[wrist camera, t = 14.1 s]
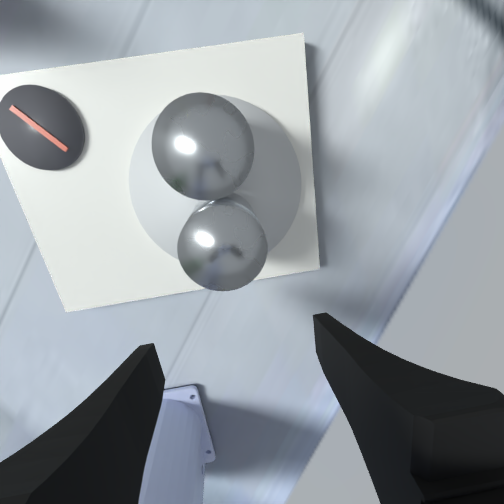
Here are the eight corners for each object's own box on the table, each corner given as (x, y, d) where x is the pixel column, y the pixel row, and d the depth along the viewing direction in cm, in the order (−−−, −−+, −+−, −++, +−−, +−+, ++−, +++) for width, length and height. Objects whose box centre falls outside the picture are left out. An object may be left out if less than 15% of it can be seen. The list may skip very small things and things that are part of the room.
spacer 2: (264, 243, 20) (278, 275, 15) (204, 263, 20) (197, 302, 15) (244, 181, 18) (252, 192, 13) (179, 203, 18) (161, 223, 13)
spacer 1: (241, 191, 18) (247, 206, 13) (172, 182, 18) (150, 194, 13) (250, 117, 17) (261, 101, 12) (175, 105, 16) (152, 83, 11)
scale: (315, 263, 23) (322, 272, 21) (74, 304, 22) (61, 316, 20) (298, 40, 18) (306, 28, 16) (-15, 84, 17) (-42, 76, 15)
